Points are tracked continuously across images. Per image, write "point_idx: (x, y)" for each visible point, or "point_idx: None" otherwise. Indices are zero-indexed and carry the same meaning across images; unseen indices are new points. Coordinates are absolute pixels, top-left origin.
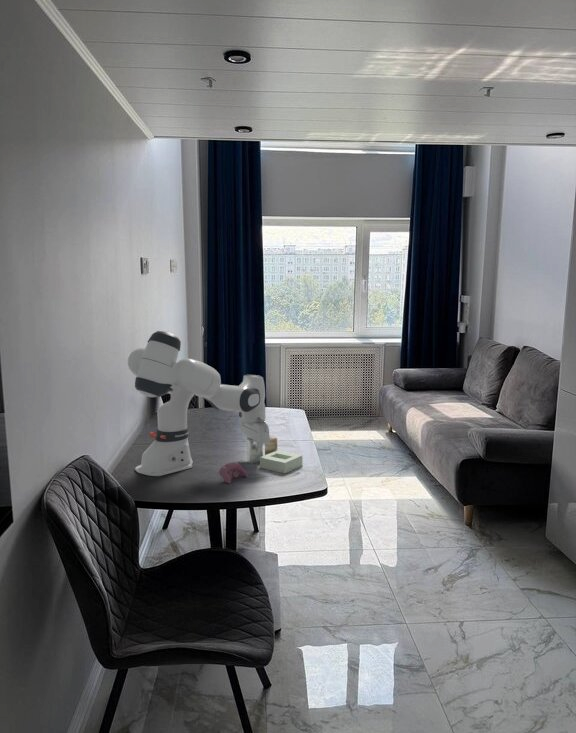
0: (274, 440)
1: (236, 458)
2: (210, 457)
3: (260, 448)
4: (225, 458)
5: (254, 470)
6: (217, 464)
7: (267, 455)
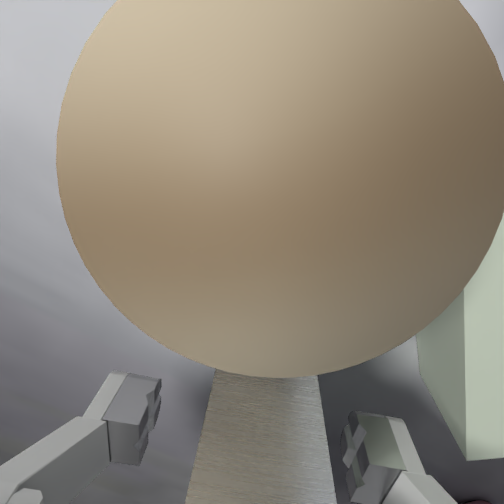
0: (480, 217)
1: (111, 368)
2: (17, 447)
3: (416, 479)
4: (76, 410)
5: (434, 423)
6: (168, 481)
7: (500, 389)
